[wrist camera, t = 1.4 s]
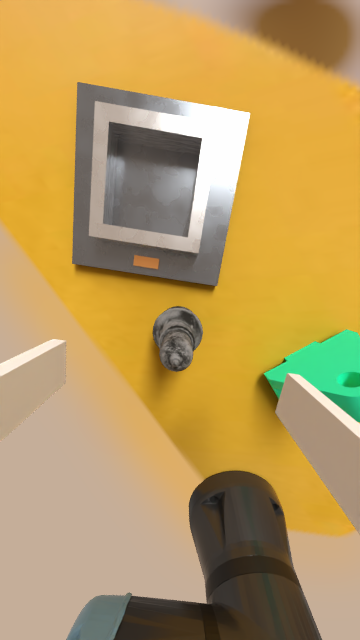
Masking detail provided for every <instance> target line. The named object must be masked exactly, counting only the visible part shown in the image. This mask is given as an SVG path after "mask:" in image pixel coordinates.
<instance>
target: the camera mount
mask: <svg viewBox="0 0 360 640" xmlns="http://www.w3.org/2000/svg"><path fill="white" fill-rule="evenodd" d="M284 359H285V360H286V362H285V363H283V364H281V365H279V366H277V367H275V368H273V369H271V370H270V371H268V372H266V373H264V375H265V376H266V378H267V380H268V382H269V383H270V385H271V387H272V388H273V390H274V392H275V394H276V395H277V397H278V399H279V398H280V395H281V391H282V388H283V385H284V382H285V378H286V375H287V373H291V374H297V375H300V376H302V377H303V378H304V379H305V380H307V381H308V382H309V383H310V384H311V385H313V386H314V387H315V388H316V389H318V390H319V391H320V392H321V393H322V394H324V395H325V396H326V397H327V398H329V399H330V400H331V401H332V402H333V403H335V404H336V405H337V406H338V407H340V408H341V409H342V410H343V411H344V412H346V413H347V414H348V415H349V416H351V417H352V418H353V419H354V420H355V421H357V422H360V337H359V335H358V333H357V332H353V331H350V330H347V329H346V330H345V331H343V332H341V333H339V334H337V335H335V336H333V337H331V338H330V339H328V340H326V341H324V342H322V343H318V342H316V341H315V342H313V343H311V344H309V345H307V346H306V347H304V348H302V349H300V350H298V351H296V352H294V353H293V354H291V355H289V356H287V357H285V358H284Z"/></svg>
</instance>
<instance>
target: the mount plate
mask: <svg viewBox="0 0 360 640" xmlns="http://www.w3.org/2000/svg"><path fill="white" fill-rule="evenodd" d="M249 116H250V113H247V112H241V111H236V110H230V109H225V108H219V107H213V106H208V105H202V104H197V103H191V102H186V101H180V100H174V99H169V98H163V97H158V96H152V95H147V94H141V93H135V92H130V91H124V90H119V89H113V88H108V87H102V86H96V85H91V84H85V83H80V82H78V83H77V117H76V152H75V187H74V222H73V256H72V264H78V265H85V266H91V267H98V268H104V269H111V270H117V271H123V272H130V273H136V274H143V275H149V276H155V277H162V278H168V279H175V280H181V281H188V282H194V283H200V284H207V285H213V286H217V283H218V278H219V273H220V268H221V262H222V257H223V252H224V247H225V241H226V236H227V231H228V226H229V220H230V215H231V210H232V205H233V200H234V194H235V189H236V184H237V179H238V173H239V168H240V163H241V158H242V152H243V147H244V142H245V137H246V131H247V126H248V121H249Z"/></svg>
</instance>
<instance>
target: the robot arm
mask: <svg viewBox="0 0 360 640" xmlns="http://www.w3.org/2000/svg"><path fill="white" fill-rule="evenodd" d="M65 379H66V341H64V340H57V339H52V340H50V341H47V342H45V343H43V344H41V345H39V346H37V347H35V348H33V349H31V350H28V351H26V352H24V353H22V354H20V355H18V356H16V357H13V358H12V359H9V360H7V361H5V362H3V363H1V364H0V442H1V441H2V440H3V439H4V438H5V437H7V436H8V435H9V434H10V433H11V432H12V431H13V430H14V429H15V428H16V427H18V426H19V425H20V424H21V423H22V422H23V421H24V420H25V419H26V418H28V417H29V416H30V415H31V414H32V413H33V412H34V411H35V410H36V409H37V408H39V407H40V406H41V405H42V404H43V403H44V402H45V401H46V400H47V399H49V398H50V397H51V396H52V395H53V394H54V393H55V392H56V391H57V390H58V389H60V388H61V387H62V386H63V385H64V384H65V382H66V380H65ZM275 413H276V415H277V416H278V418H279V419H280V420H281V422H282V423H283V425H284V426H285V428H286V429H287V431H288V432H289V433H290V435H291V436H292V438H293V439H294V441H295V442H296V444H297V445H298V446H299V448H300V449H301V451H302V452H303V454H304V455H305V456H306V458H307V459H308V461H309V462H310V464H311V465H312V467H313V468H314V469H315V471H316V472H317V474H318V475H319V477H320V478H321V480H322V481H323V482H324V484H325V485H326V487H327V488H328V490H329V491H330V493H331V494H332V495H333V497H334V498H335V500H336V501H337V503H338V504H339V505H340V507H341V508H342V510H343V511H344V513H345V514H346V516H347V517H348V518H349V520H350V521H351V523H352V524H353V526H354V527H355V529H356V530H357V531H358V533H359V534H360V424H359V423H358V422H357V421H355V420H354V419H353V418H352V417H351V416H349V415H348V414H347V413H346V412H344V411H343V410H342V409H341V408H340V407H338V406H337V405H336V404H335V403H333V402H332V401H331V400H330V399H329V398H327V397H326V396H325V395H324V394H322V393H321V392H320V391H319V390H318V389H316V388H315V387H314V386H313V385H311V384H310V383H309V382H308V381H307V380H305V379H304V378H303V377H302V376H300V375H297V374H291V373H287V375H286V378H285V382H284V385H283V388H282V391H281V395H280V398H279V401H278V404H277V408H276V411H275ZM189 519H190V520H189V521H190V528H191V533H192V536H193V540H194V543H195V547H196V550H197V553H198V557H199V561H200V564H201V568H202V571H203V575H204V579H205V587H206V598H207V604H204V603H196V602H186V601H177V600H166V599H157V598H147V597H138V596H131V595H132V594H131V593H127V594H126V595H125V596H117V595H116V596H115V595H101V596H96V597H94V598H93V599H92V600H90V601H89V602H88V603H87V604H86V605H85V607H84V608H83V609H82V611H81V612H80V614H79V616H78V617H77V619H76V621H75V623H74V625H73V627H72V629H71V631H70V633H69V635H68V637H67V639H66V640H322V638H321V636H320V633H319V631H318V628H317V626H316V623H315V621H314V619H313V616H312V613H311V611H310V608H309V606H308V603H307V601H306V598H305V596H304V593H303V591H302V588H301V586H300V583H299V580H298V578H297V575H296V573H295V570H294V567H293V563H292V557H291V552H290V546H289V541H288V534H287V529H286V523H285V517H284V512H283V509H282V506H281V504H280V502H279V499H278V497H277V495H276V493H275V491H274V489H273V487H272V486H271V485H270V484H269V483H268V482H267V481H266V480H264V479H263V478H261V477H259V476H257V475H255V474H252V473H248V472H242V471H229V472H223V473H219V474H216V475H213V476H211V477H209V478H207V479H206V480H204V481H203V482H202V483H201V484H199V485H198V486H197V488H196V489H195V490H194V492H193V494H192V495H191V498H190V502H189Z"/></svg>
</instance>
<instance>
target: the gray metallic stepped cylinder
mask: <svg viewBox="0 0 360 640" xmlns="http://www.w3.org/2000/svg"><path fill="white" fill-rule="evenodd" d="M202 334H203V330H202V325H201V323H200V320H199V319H198V318H197V316H196V315H195V314H194V313H192V311H190V310H189V309H187V308H185V307H180V306H176V307H172V308H169V309H168V310H166V311H164V312H163V313H162V314H161V315H159V317H158V318H157V320H156V321H155V324H154V326H153V337H154V340H155V342H156V344H157V346H158V347H159V348H160V354H159V355H160V360H161V362H162V364H163V365H164V367H165V368H167V369H168V370H171V371H176V372H177V371H182V370H184V369H186V368H187V367H188V366H189V365H190V364H191V361H192V359H193V351H194V350H195V349H196V348H197V347H198V345H199V344H200V342H201V339H202Z"/></svg>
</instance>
